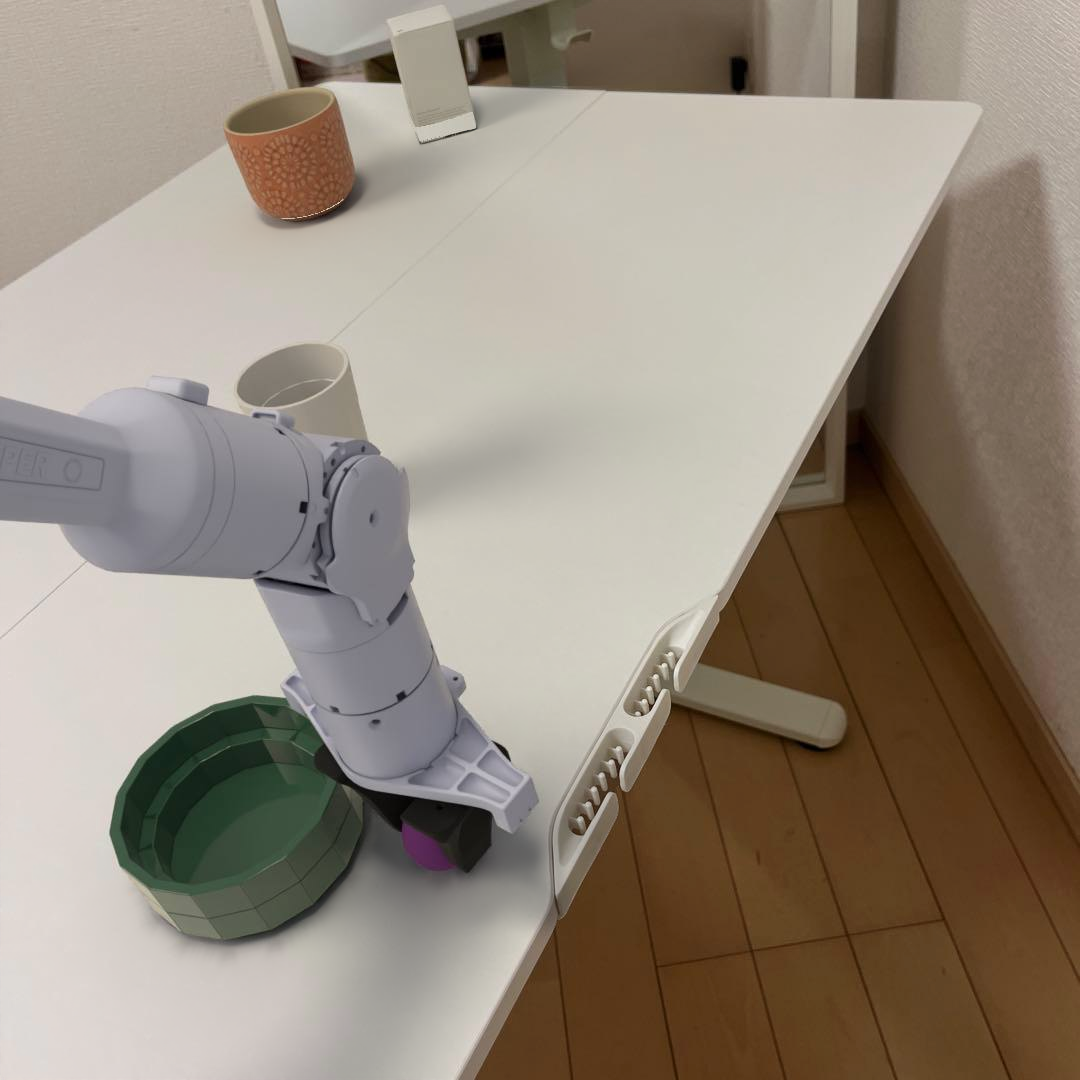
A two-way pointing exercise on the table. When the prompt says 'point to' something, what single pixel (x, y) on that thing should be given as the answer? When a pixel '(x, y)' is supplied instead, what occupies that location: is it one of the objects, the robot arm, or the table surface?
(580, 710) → the table surface
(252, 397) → the cup
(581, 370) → the table surface
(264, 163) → the planter
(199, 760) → the bowl
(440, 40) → the white packaging box
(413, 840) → the ball
